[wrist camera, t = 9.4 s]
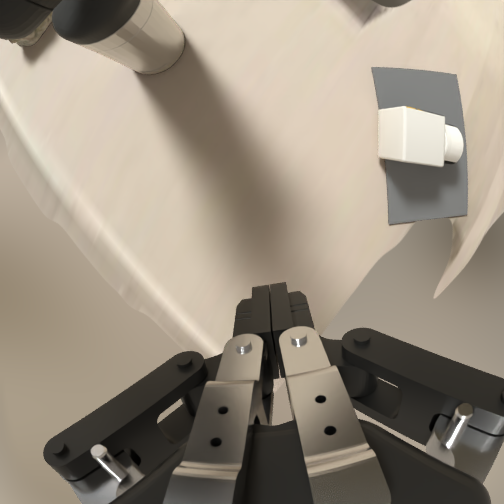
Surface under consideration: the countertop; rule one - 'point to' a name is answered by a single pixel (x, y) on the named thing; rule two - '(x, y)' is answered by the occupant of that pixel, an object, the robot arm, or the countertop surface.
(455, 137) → the medicine bottle
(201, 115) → the countertop surface
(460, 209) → the rubber mat
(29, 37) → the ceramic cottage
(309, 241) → the countertop surface
